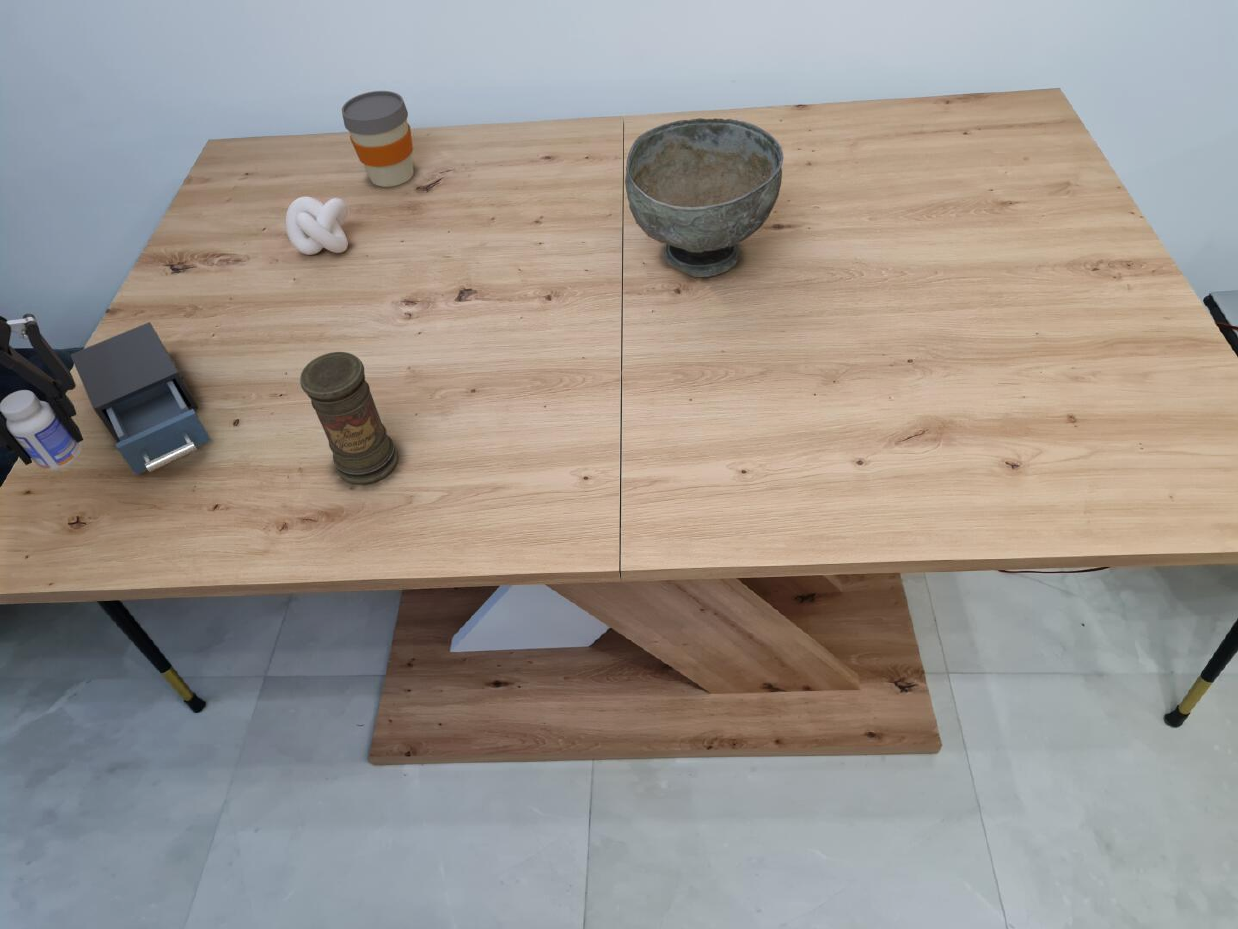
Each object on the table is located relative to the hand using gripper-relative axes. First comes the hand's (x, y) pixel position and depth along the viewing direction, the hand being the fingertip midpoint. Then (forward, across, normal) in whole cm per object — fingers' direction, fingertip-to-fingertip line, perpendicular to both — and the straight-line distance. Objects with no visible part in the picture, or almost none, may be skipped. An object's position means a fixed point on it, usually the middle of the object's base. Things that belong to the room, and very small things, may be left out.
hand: (52, 446), depth 112 cm
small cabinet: (+18, +10, +27) cm, 34 cm away
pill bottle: (+2, 0, 0) cm, 2 cm away
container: (+19, +34, -9) cm, 39 cm away
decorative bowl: (+19, +102, 0) cm, 104 cm away
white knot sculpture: (+19, +50, +47) cm, 71 cm away
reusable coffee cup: (+19, +71, +64) cm, 97 cm away
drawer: (+17, +10, +14) cm, 25 cm away
